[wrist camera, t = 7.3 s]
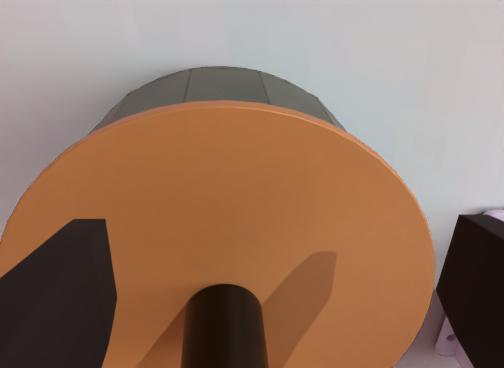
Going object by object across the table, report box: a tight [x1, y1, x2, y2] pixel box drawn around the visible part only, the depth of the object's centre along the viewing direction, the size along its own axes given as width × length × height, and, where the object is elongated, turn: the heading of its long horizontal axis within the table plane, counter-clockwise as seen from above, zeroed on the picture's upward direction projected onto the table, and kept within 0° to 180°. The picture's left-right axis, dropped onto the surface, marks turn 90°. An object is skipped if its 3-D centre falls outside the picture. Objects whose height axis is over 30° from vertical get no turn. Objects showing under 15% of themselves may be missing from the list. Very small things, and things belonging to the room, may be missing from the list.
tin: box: [88, 66, 348, 135], centre depth 17 cm, size 12×12×6 cm
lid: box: [0, 100, 435, 368], centre depth 13 cm, size 14×14×5 cm
